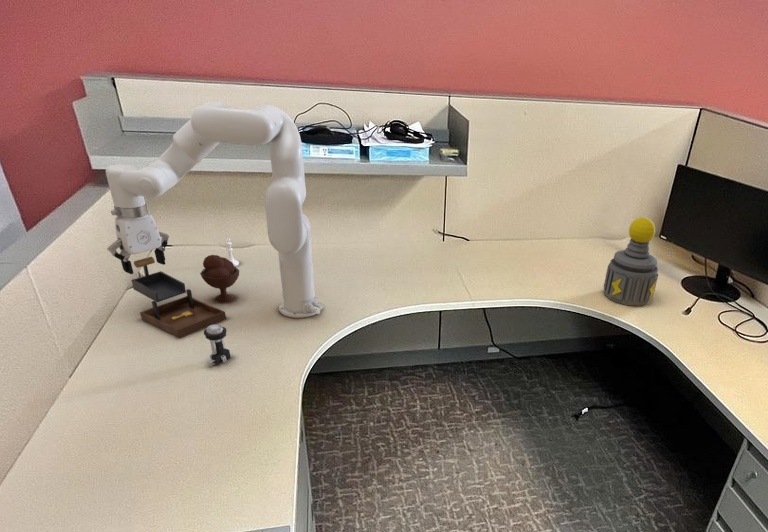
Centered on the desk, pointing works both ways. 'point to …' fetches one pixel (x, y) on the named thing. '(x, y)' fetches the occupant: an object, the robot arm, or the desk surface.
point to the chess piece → (231, 252)
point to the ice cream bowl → (220, 275)
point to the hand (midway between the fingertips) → (145, 268)
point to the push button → (217, 344)
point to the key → (182, 315)
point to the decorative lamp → (633, 268)
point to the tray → (184, 325)
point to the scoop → (156, 283)
